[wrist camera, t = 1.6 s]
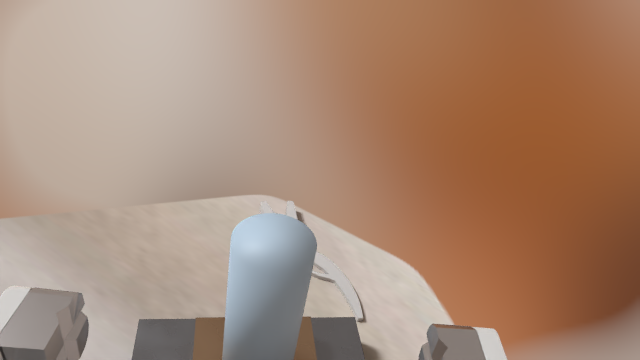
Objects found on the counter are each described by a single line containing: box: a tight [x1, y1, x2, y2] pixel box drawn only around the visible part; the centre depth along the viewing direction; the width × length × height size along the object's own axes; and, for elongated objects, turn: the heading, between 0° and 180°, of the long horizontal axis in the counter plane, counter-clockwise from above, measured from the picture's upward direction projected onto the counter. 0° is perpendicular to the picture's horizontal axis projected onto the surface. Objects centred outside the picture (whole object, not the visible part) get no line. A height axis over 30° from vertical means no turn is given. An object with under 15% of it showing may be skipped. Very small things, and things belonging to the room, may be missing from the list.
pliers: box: [260, 201, 363, 321], centre depth 46 cm, size 10×2×15 cm
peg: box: [222, 213, 317, 360], centre depth 29 cm, size 4×4×11 cm
